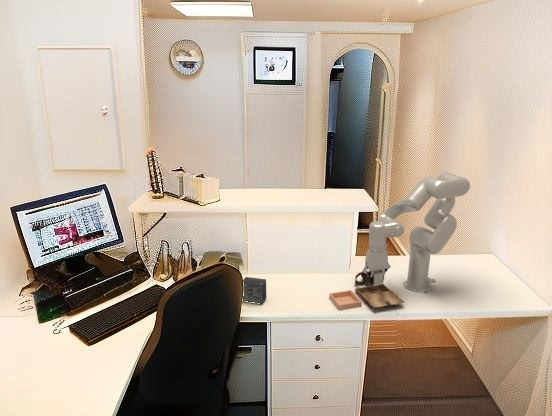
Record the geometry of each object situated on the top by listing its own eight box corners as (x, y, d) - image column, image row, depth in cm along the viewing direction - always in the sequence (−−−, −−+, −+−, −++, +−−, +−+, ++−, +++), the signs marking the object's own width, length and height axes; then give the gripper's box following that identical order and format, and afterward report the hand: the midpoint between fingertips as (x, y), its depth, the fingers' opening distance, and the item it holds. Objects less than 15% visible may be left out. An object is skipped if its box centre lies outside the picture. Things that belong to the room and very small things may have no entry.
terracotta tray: (350, 295, 206) (351, 290, 205) (361, 307, 196) (361, 301, 195) (329, 299, 203) (329, 293, 202) (338, 311, 193) (339, 305, 192)
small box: (267, 298, 204) (266, 278, 201) (263, 305, 198) (262, 285, 195) (246, 295, 207) (245, 276, 204) (241, 302, 201) (241, 282, 198)
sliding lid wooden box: (383, 289, 212) (383, 282, 210) (404, 309, 194) (405, 301, 193) (354, 294, 207) (355, 286, 206) (373, 314, 190) (374, 306, 189)
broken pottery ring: (377, 290, 211) (371, 279, 208) (359, 296, 214) (353, 285, 210) (374, 274, 222) (368, 263, 218) (357, 280, 224) (350, 269, 220)
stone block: (378, 279, 207) (378, 268, 205) (382, 284, 203) (383, 272, 201) (369, 281, 206) (370, 270, 204) (374, 285, 201) (374, 274, 199)
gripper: (389, 241, 203) (388, 275, 209) (357, 247, 199) (356, 281, 205) (397, 247, 197) (396, 282, 203) (364, 253, 193) (364, 289, 198)
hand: (376, 281), depth 204 cm, fingers closed on stone block, 4 cm apart
